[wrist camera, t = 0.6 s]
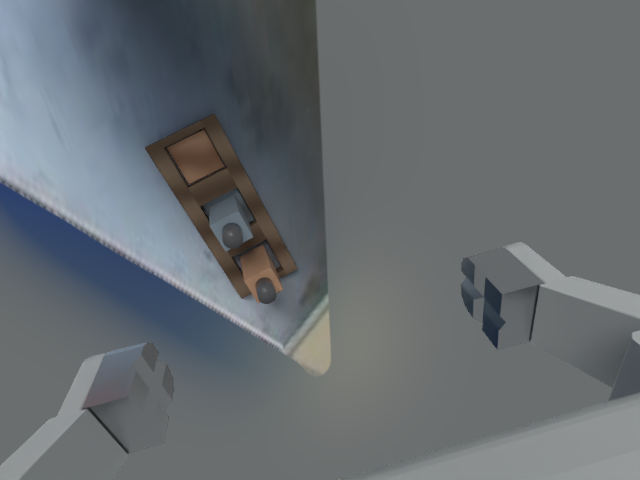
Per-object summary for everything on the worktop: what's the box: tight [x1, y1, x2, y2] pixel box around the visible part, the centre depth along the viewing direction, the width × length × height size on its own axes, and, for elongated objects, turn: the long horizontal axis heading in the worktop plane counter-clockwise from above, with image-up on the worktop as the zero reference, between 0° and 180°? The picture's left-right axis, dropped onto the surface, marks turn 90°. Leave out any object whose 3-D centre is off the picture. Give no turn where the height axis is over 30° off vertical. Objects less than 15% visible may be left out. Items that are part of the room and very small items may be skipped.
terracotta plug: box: [240, 244, 283, 304], centre depth 54 cm, size 4×4×12 cm
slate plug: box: [209, 195, 253, 252], centre depth 50 cm, size 4×4×12 cm
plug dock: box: [145, 114, 297, 298], centre depth 55 cm, size 26×10×2 cm, turn 24°
